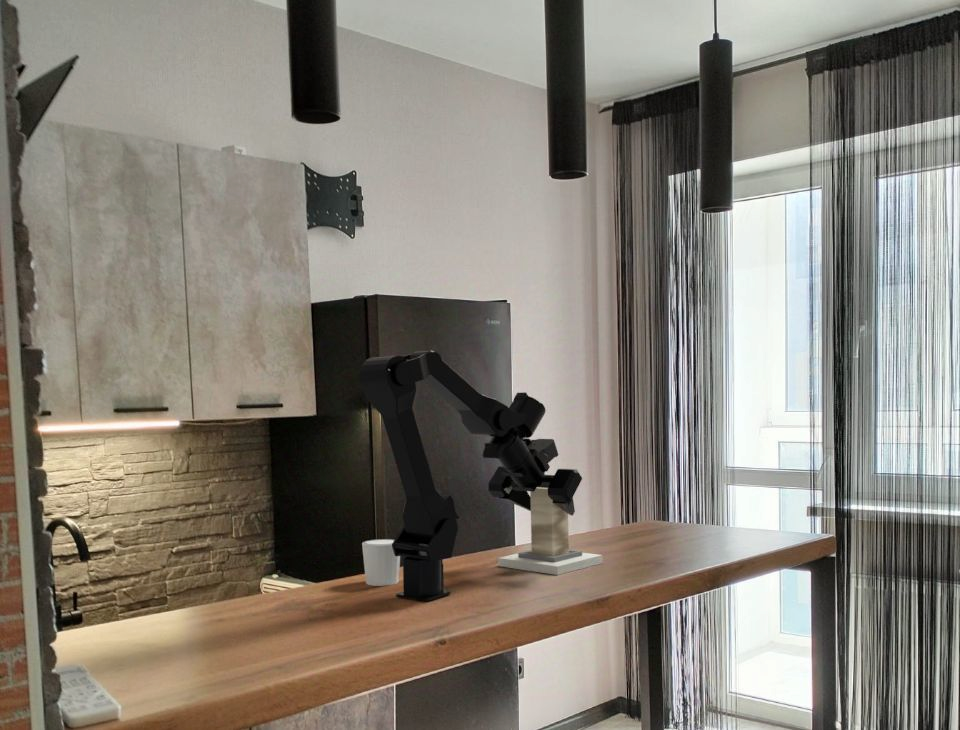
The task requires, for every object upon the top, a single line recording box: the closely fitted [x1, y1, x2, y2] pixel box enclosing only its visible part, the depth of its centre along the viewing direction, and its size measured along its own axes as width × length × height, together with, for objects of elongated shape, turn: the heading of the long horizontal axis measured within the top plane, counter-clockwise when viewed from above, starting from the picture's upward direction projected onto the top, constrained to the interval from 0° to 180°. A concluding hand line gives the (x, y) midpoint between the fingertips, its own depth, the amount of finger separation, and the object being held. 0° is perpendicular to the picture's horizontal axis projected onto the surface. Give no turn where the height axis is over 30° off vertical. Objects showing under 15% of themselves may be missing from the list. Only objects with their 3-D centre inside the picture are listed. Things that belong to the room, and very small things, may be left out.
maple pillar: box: [529, 487, 570, 557], centre depth 160 cm, size 5×5×13 cm
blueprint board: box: [497, 549, 603, 576], centre depth 160 cm, size 14×14×2 cm
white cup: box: [361, 538, 401, 587], centre depth 147 cm, size 7×7×7 cm
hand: (553, 511), depth 161 cm, fingers open, 9 cm apart
